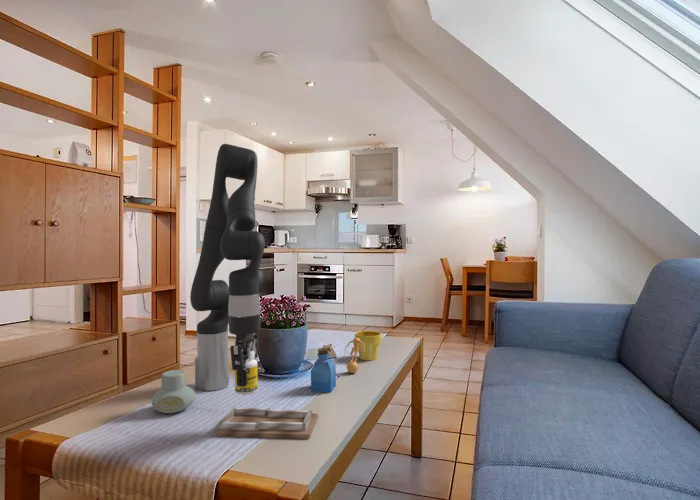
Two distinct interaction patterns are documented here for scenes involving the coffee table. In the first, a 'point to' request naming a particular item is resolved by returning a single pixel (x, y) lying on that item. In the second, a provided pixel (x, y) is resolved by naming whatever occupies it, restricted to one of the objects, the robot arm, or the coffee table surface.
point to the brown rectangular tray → (267, 423)
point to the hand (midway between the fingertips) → (246, 381)
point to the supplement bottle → (248, 377)
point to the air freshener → (173, 393)
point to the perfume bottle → (323, 373)
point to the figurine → (352, 365)
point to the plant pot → (369, 344)
